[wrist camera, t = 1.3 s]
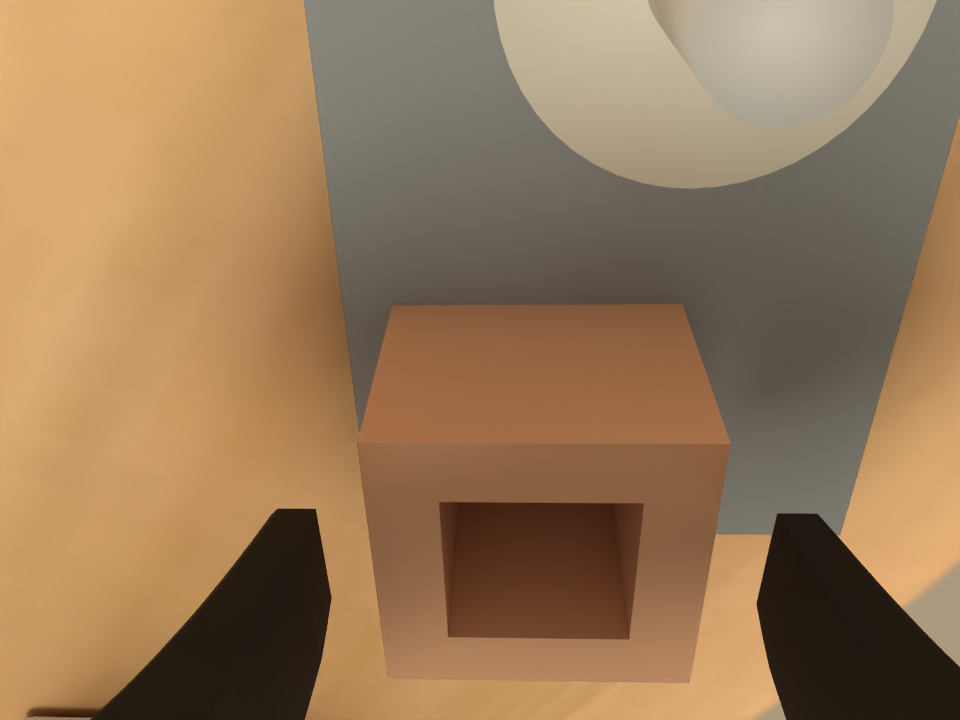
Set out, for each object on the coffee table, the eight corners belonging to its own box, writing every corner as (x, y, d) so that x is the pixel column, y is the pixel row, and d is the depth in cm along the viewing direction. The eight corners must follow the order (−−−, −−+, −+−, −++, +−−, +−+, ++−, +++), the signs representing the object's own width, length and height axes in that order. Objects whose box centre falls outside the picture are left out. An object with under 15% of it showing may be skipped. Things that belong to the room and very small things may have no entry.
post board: (825, 503, 19) (915, 701, 14) (378, 499, 19) (339, 691, 15) (1039, -311, 11) (1365, -394, 7) (284, -284, 11) (149, -347, 7)
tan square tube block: (656, 519, 18) (689, 682, 14) (412, 518, 18) (387, 678, 15) (682, 303, 15) (730, 444, 12) (392, 304, 15) (357, 443, 12)
